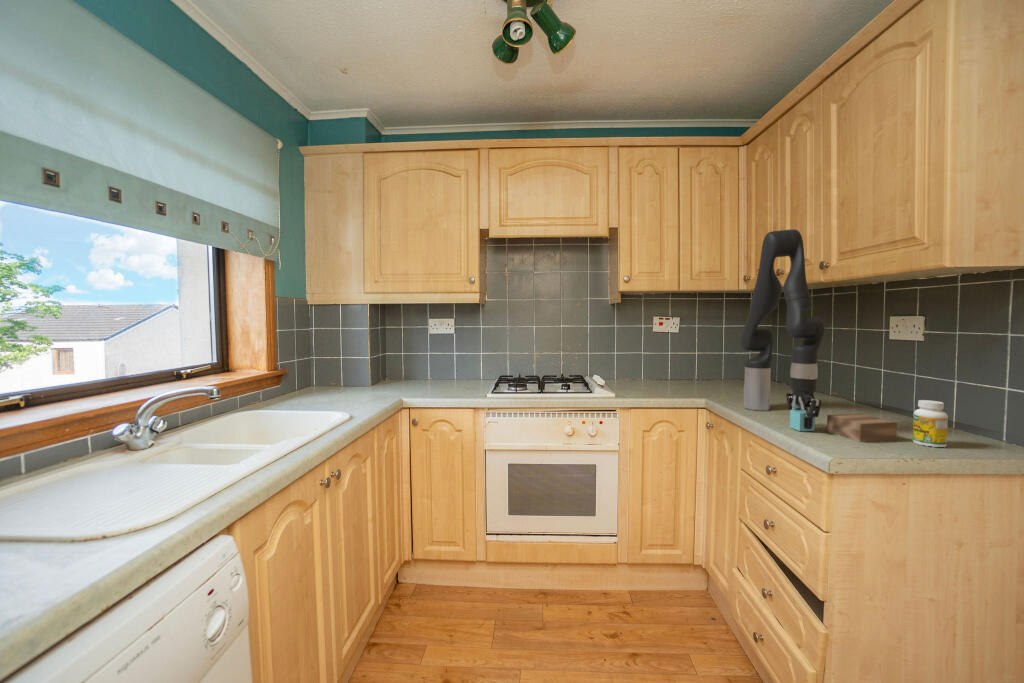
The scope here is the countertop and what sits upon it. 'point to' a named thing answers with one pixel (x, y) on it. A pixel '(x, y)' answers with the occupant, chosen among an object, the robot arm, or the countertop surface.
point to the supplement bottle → (930, 424)
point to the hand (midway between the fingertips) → (802, 426)
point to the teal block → (799, 420)
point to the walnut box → (862, 427)
